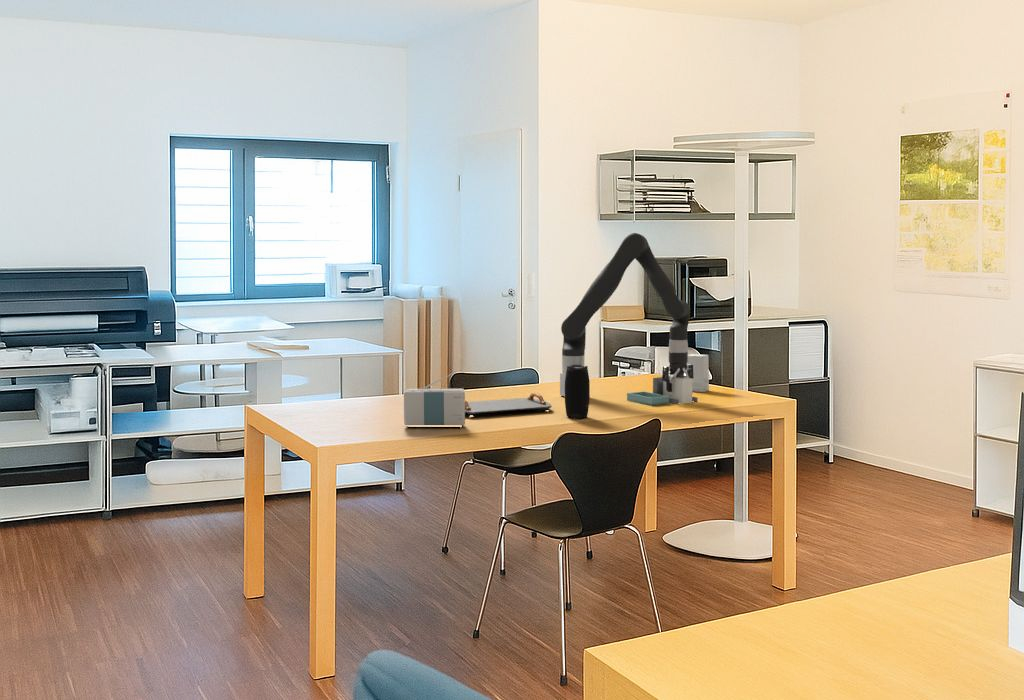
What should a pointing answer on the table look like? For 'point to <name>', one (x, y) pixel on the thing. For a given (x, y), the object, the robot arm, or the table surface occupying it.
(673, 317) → the robot arm
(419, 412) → the stereo radio cassette player
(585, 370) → the portable speaker
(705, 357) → the skincare box
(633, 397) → the tray
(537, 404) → the serving board
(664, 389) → the light grey block
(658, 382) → the bay
